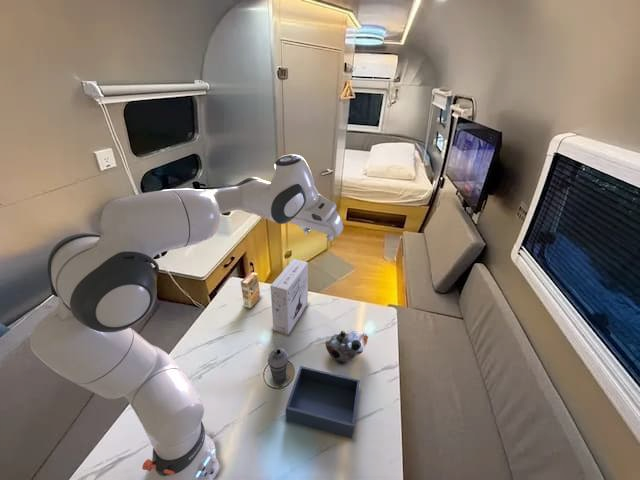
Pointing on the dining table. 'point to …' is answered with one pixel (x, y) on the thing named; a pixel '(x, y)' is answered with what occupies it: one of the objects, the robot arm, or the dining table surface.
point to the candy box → (250, 289)
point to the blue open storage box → (324, 401)
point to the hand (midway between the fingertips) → (318, 235)
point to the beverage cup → (278, 365)
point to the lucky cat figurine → (346, 345)
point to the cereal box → (289, 295)
